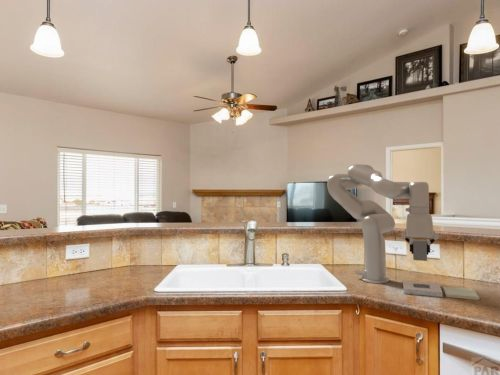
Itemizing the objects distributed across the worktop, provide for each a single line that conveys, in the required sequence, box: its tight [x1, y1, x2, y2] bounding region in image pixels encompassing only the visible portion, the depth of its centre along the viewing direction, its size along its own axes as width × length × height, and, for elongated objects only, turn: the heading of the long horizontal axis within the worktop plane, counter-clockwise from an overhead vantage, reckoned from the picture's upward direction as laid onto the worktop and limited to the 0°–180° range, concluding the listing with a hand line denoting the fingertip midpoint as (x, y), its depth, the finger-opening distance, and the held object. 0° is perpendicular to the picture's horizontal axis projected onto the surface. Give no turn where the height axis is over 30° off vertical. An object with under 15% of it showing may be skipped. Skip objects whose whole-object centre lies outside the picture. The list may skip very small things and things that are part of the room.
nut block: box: [412, 238, 428, 262], centre depth 143 cm, size 5×5×8 cm
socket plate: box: [402, 280, 443, 298], centre depth 143 cm, size 14×14×2 cm
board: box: [442, 286, 480, 301], centre depth 137 cm, size 11×12×1 cm
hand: (419, 253), depth 143 cm, fingers closed on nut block, 5 cm apart
